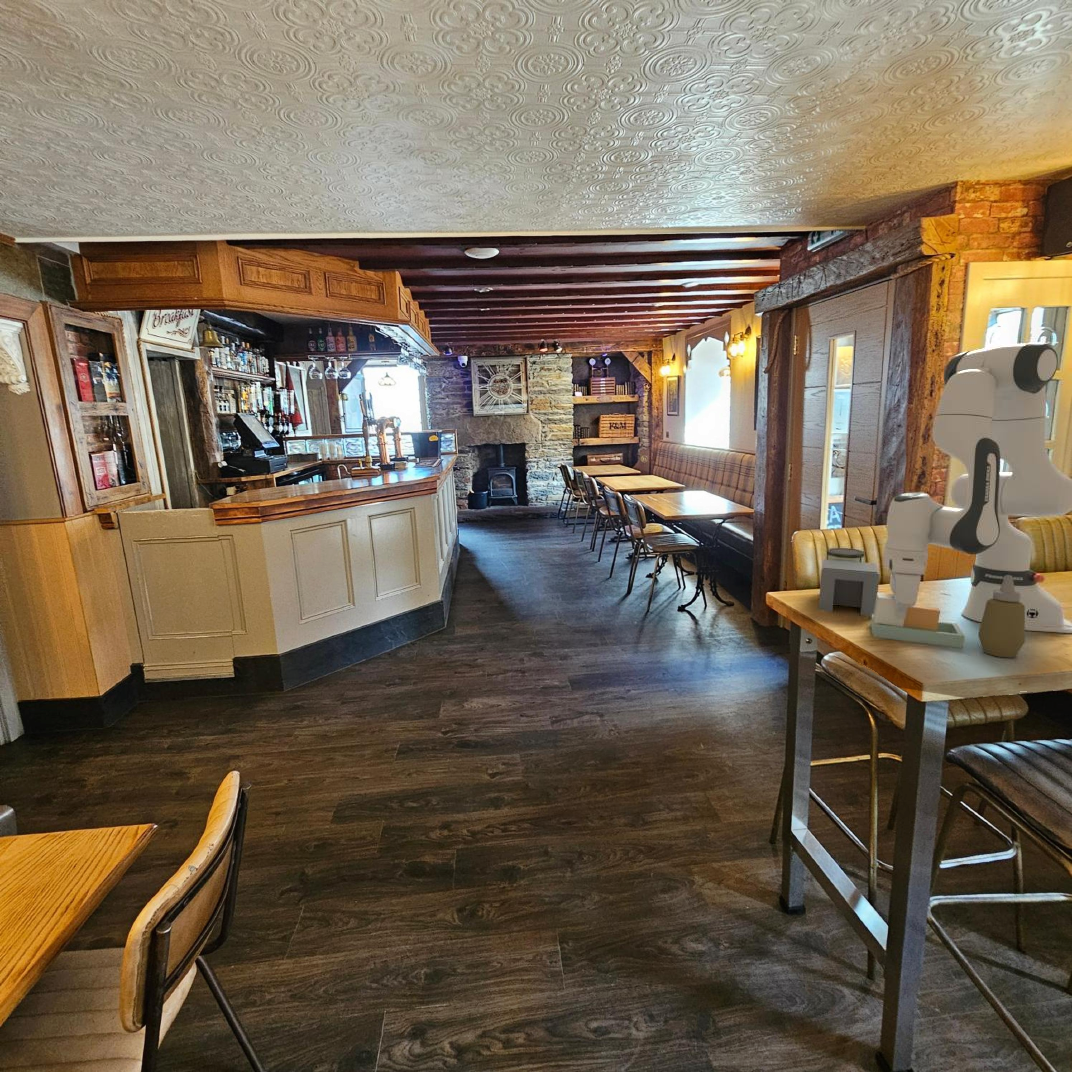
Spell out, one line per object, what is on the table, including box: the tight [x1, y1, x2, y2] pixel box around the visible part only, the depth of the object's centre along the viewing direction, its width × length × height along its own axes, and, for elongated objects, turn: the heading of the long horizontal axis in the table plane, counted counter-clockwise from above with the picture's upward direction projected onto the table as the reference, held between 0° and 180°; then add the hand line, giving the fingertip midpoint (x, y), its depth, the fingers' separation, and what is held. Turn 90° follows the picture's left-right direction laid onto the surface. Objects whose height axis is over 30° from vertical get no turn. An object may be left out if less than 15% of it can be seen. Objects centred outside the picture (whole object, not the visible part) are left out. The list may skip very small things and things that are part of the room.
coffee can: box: [825, 547, 866, 563], centre depth 174 cm, size 10×10×14 cm
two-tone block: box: [873, 592, 941, 631], centre depth 139 cm, size 5×13×6 cm, turn 62°
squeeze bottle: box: [978, 575, 1026, 659], centre depth 126 cm, size 8×8×18 cm
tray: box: [870, 614, 965, 649], centre depth 139 cm, size 18×10×3 cm, turn 62°
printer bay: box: [818, 559, 880, 617], centre depth 162 cm, size 14×13×12 cm
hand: (899, 614), depth 140 cm, fingers closed on two-tone block, 5 cm apart
